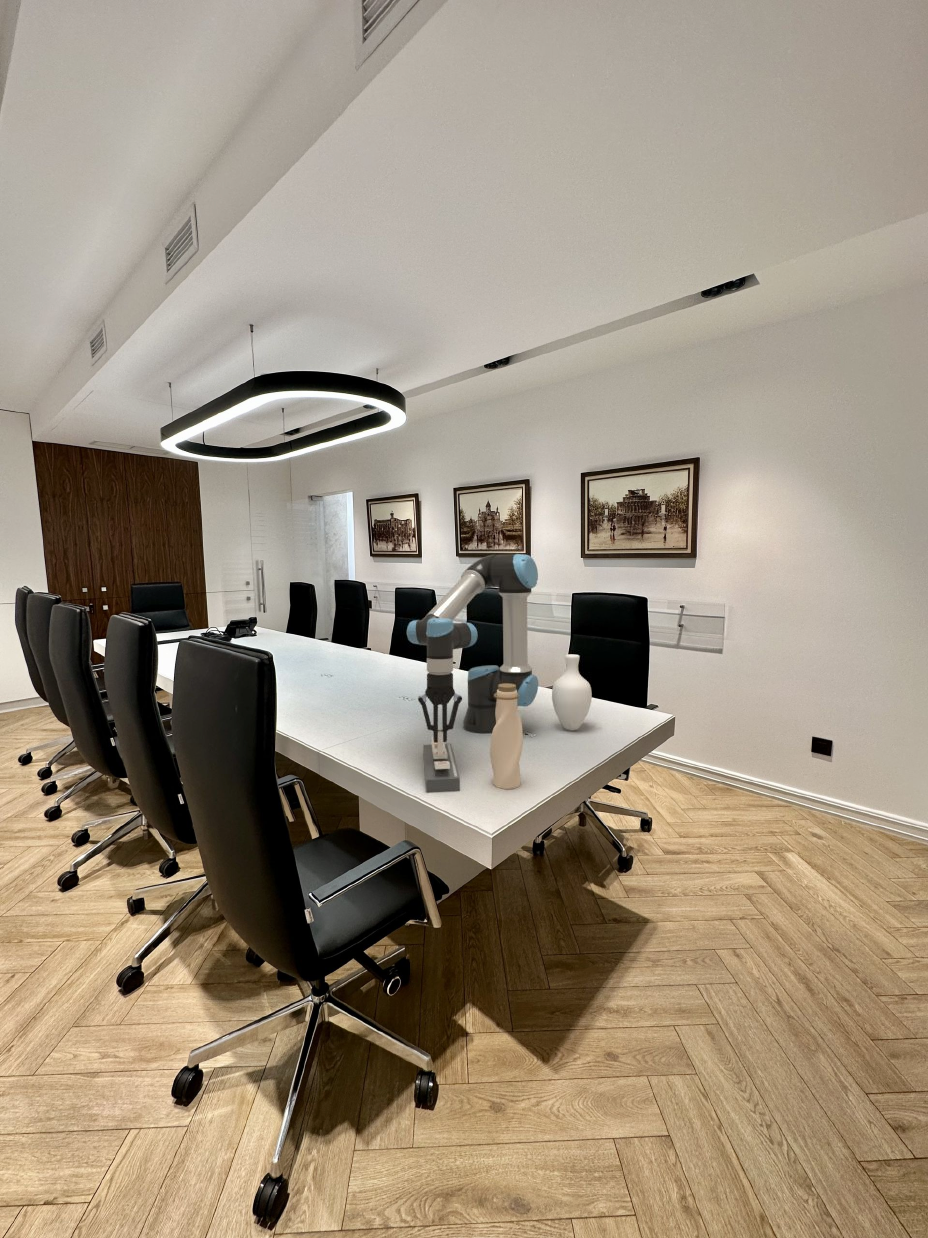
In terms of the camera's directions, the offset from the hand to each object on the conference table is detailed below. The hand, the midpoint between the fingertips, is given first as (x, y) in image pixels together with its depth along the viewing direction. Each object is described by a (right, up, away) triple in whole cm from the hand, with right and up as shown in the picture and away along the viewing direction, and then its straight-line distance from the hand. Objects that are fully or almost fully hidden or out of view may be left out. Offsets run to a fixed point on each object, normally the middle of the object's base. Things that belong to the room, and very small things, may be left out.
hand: (440, 753), depth 151 cm
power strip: (-1, -6, +8) cm, 10 cm away
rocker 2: (0, -1, +4) cm, 4 cm away
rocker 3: (+1, -2, -5) cm, 6 cm away
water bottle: (+19, -8, -4) cm, 21 cm away
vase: (+47, -3, +43) cm, 64 cm away
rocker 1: (-1, 0, +13) cm, 13 cm away
